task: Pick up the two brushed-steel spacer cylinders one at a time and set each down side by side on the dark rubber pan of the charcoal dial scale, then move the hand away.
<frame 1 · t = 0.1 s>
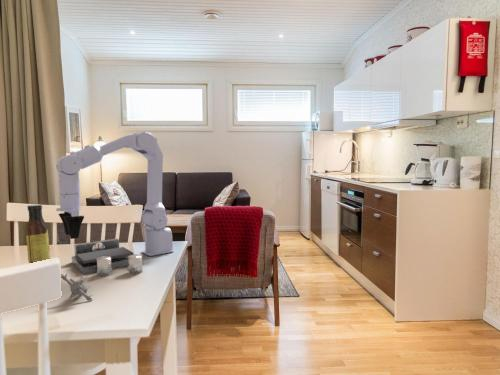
hand: (72, 236, 114), 10 cm above the table, fingers open, 7 cm apart
steel spacer 2: (104, 274, 107), on the table
sauce bottle: (39, 265, 118), on the table
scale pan: (105, 254, 116), point 3 cm above the table, slide at 0.1 cm
grey piece: (76, 299, 89), on the table
scale: (103, 263, 118), on the table
steel spacer 1: (135, 272, 109), on the table
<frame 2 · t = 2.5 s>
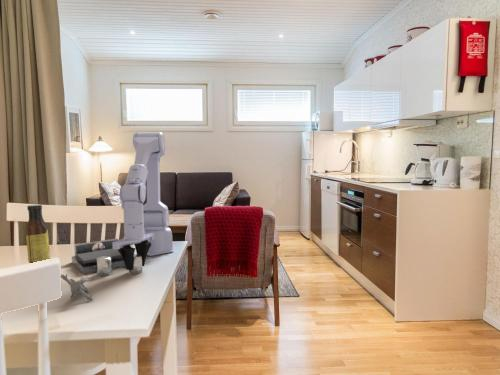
hand: (135, 267, 109), 1 cm above the table, fingers closed on steel spacer 1, 4 cm apart
steel spacer 1: (135, 272, 109), on the table, touching gripper
everything else where it was.
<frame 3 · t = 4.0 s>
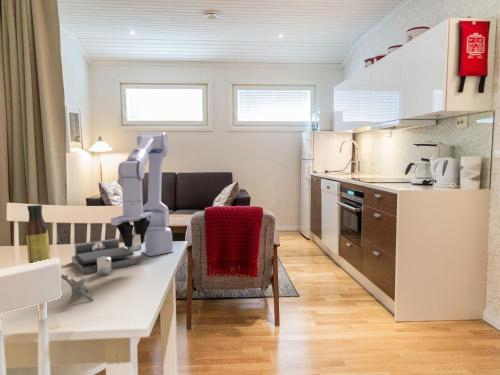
hand: (134, 245, 109), 8 cm above the table, fingers closed on steel spacer 1, 4 cm apart
steel spacer 1: (134, 250, 109), point 7 cm above the table, touching gripper
everything else where it was.
when the fingers open (7 cm above the table, at t = 5.8 s): steel spacer 1 drops 2 cm, resting on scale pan.
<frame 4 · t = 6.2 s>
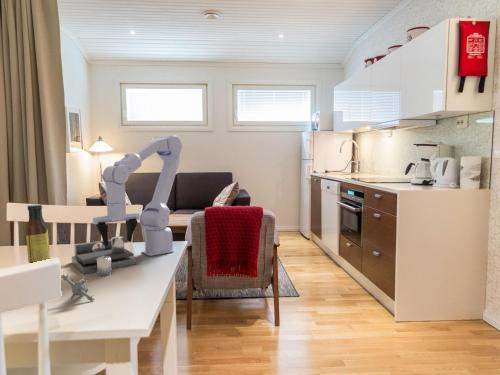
hand: (117, 243, 118), 7 cm above the table, fingers open, 7 cm apart
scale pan: (105, 255, 116), point 3 cm above the table, slide at 0.4 cm, touching steel spacer 1
steel spacer 1: (118, 252, 118), point 4 cm above the table, touching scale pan
everything else where it was.
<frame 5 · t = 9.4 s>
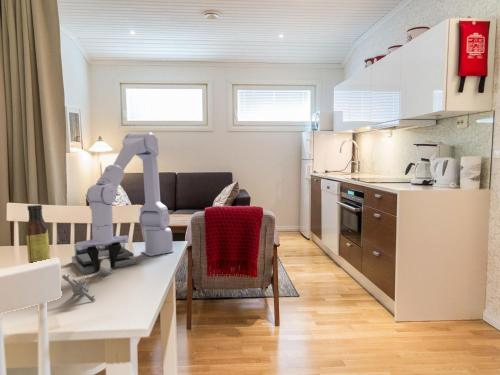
hand: (104, 269, 107), 1 cm above the table, fingers closed on steel spacer 2, 4 cm apart
steel spacer 2: (104, 274, 107), on the table, touching gripper
everything else where it was.
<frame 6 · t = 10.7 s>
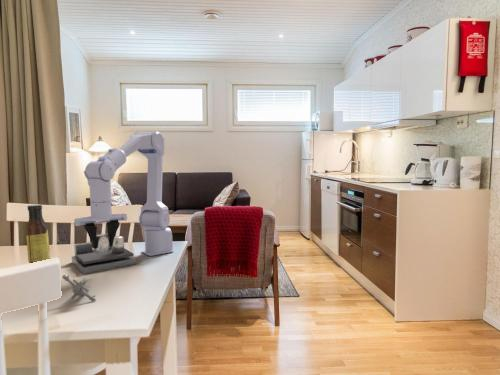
hand: (102, 246, 107), 8 cm above the table, fingers closed on steel spacer 2, 4 cm apart
steel spacer 2: (102, 251, 107), point 7 cm above the table, touching gripper
everything else where it was.
when the fingers open (7 cm above the table, at t = 12.0 s): steel spacer 2 drops 2 cm, resting on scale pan.
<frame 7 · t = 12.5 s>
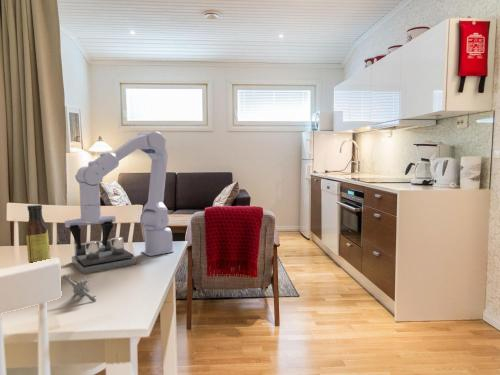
hand: (92, 247, 113), 7 cm above the table, fingers open, 7 cm apart
steel spacer 2: (92, 257, 113), point 3 cm above the table, touching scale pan
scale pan: (105, 256, 116), point 3 cm above the table, slide at 0.8 cm, touching steel spacer 1, steel spacer 2
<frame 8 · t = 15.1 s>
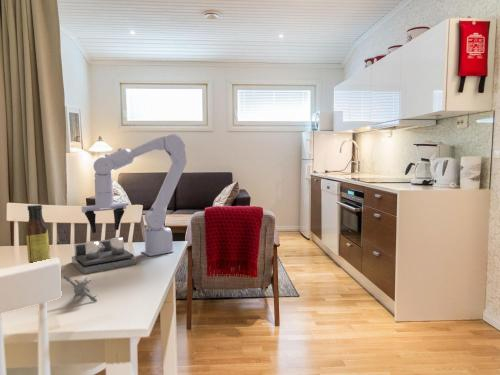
hand: (105, 231, 125), 9 cm above the table, fingers open, 7 cm apart
at the end: steel spacer 1 inside the target area (4.0 cm from its centre), point 3.4 cm above the table; steel spacer 2 inside the target area (4.0 cm from its centre), point 3.2 cm above the table; steel spacer 2 tilted 2° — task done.
